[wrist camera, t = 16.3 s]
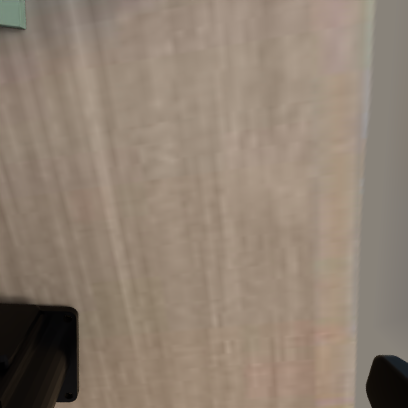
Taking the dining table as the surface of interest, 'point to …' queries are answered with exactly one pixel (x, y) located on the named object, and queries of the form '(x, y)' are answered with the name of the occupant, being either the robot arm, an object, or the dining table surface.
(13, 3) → the mat
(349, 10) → the dining table surface
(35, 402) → the robot arm
